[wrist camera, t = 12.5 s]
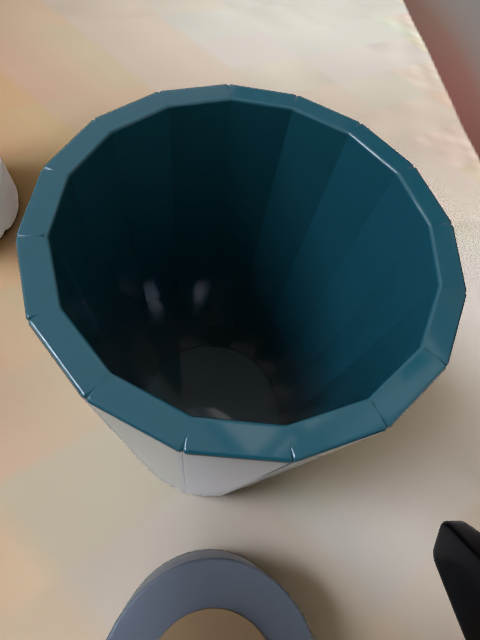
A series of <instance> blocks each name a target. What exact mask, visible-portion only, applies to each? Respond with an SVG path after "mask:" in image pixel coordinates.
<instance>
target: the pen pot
mask: <svg viewBox="0 0 480 640" xmlns="http://www.w3.org/2000/svg"><path fill="white" fill-rule="evenodd" d="M16 247H17V255H18V262H19V270H20V277H21V284H22V292H23V299H24V307H25V314H26V319H27V320H28V321H29V325H30V327H31V328H32V330H33V331H34V332H35V334H36V335H37V336H38V338H39V339H40V341H41V342H42V343H43V345H44V346H45V348H46V349H47V350H48V352H49V353H50V354H51V356H52V357H53V359H54V360H55V361H56V363H57V364H58V365H59V367H60V368H61V370H62V371H63V372H64V374H65V375H66V377H67V378H68V379H69V381H70V382H71V383H72V385H73V386H74V388H75V389H76V390H77V392H78V393H79V394H80V396H81V397H82V398H83V399H84V400H85V402H86V403H87V404H88V405H89V406H90V407H91V408H92V409H93V410H94V411H95V412H96V413H97V415H98V416H99V417H100V418H101V419H102V420H103V421H104V422H105V423H106V424H107V425H108V426H109V427H110V429H111V430H112V431H113V432H114V433H115V434H116V435H117V436H118V437H119V438H120V439H121V440H122V441H123V443H124V444H125V445H126V446H127V447H128V448H129V449H130V450H131V451H132V452H133V453H134V454H135V455H136V457H137V458H138V459H139V460H140V461H141V462H142V463H143V464H144V465H145V466H146V467H147V468H148V469H149V471H150V472H151V473H152V474H153V475H154V476H155V477H156V478H158V479H160V480H161V481H163V482H165V483H166V484H168V485H169V486H171V487H173V488H175V489H177V490H179V491H181V492H183V493H186V494H193V495H200V496H222V495H225V494H228V493H231V492H234V491H236V490H239V489H242V488H245V487H247V486H250V485H253V484H255V483H258V482H260V481H263V480H265V479H268V478H270V477H272V476H275V475H277V474H280V473H282V472H285V471H287V470H290V469H292V468H295V467H297V466H300V465H302V464H305V463H307V462H310V461H312V460H315V459H317V458H319V457H322V456H324V455H327V454H329V453H332V452H334V451H337V450H339V449H342V448H344V447H347V446H349V445H352V444H354V443H357V442H359V441H362V440H364V439H367V438H369V437H371V436H374V435H376V434H379V433H381V432H384V431H385V430H386V429H387V428H390V427H392V425H393V424H394V423H395V422H396V421H397V420H398V419H399V418H400V417H401V416H402V415H403V414H404V413H405V412H406V411H407V410H408V408H409V407H410V406H411V405H412V404H413V403H414V402H415V401H416V400H417V399H418V398H419V397H420V396H421V395H422V394H423V392H424V391H425V390H426V389H427V388H428V387H429V386H430V385H431V384H432V383H433V382H434V381H435V380H436V379H437V378H438V377H439V375H440V374H441V373H442V372H443V371H444V370H445V368H446V366H447V365H448V363H449V359H450V355H451V352H452V348H453V344H454V340H455V336H456V333H457V329H458V325H459V321H460V317H461V313H462V310H463V306H464V302H465V298H466V294H465V293H466V287H465V282H464V277H463V272H462V267H461V262H460V257H459V253H458V248H457V243H456V238H455V233H454V228H453V226H452V225H451V221H450V219H449V218H448V216H447V215H446V213H445V212H444V210H443V209H442V207H441V206H440V204H439V203H438V201H437V199H436V198H435V196H434V195H433V193H432V192H431V190H430V189H429V187H428V186H427V184H426V183H425V181H424V180H423V178H422V177H421V175H420V174H419V172H418V170H417V169H416V168H415V167H413V165H412V164H411V163H410V162H409V161H408V160H406V159H405V158H404V157H403V156H401V155H400V154H399V153H398V152H396V151H395V150H394V149H393V148H392V147H390V146H389V145H388V144H387V143H385V142H384V141H383V140H382V139H380V138H379V137H378V136H377V135H375V134H374V133H373V132H372V131H371V130H369V129H368V128H367V127H366V126H364V125H363V124H360V123H359V122H358V121H356V120H354V119H351V118H349V117H347V116H344V115H342V114H340V113H338V112H335V111H333V110H331V109H328V108H326V107H324V106H321V105H319V104H317V103H315V102H312V101H310V100H308V99H305V98H303V97H301V96H296V95H294V94H288V93H282V92H276V91H270V90H263V89H257V88H251V87H244V86H238V85H232V84H230V85H229V86H228V85H227V84H223V85H213V86H204V87H194V88H185V89H175V90H166V91H160V93H159V92H155V93H153V94H151V95H148V96H146V97H144V98H141V99H139V100H137V101H134V102H132V103H129V104H127V105H125V106H122V107H120V108H118V109H115V110H113V111H111V112H108V113H106V114H103V115H101V116H99V117H96V118H95V120H92V121H91V122H90V123H89V124H88V125H87V126H86V127H85V128H84V129H82V130H81V131H80V132H79V133H78V134H77V135H76V136H75V137H74V138H73V139H72V140H71V141H70V142H69V143H68V144H67V145H66V146H65V147H64V148H63V149H61V150H60V151H59V152H58V153H57V154H56V155H55V156H54V157H53V158H52V159H51V160H50V161H49V162H48V163H47V164H46V165H45V166H44V169H42V170H41V172H40V175H39V177H38V180H37V183H36V185H35V188H34V190H33V193H32V196H31V198H30V201H29V203H28V206H27V209H26V211H25V214H24V216H23V219H22V222H21V224H20V227H19V229H18V232H17V238H16Z"/></svg>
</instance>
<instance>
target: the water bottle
mask: <svg viewBox="0 0 480 640" xmlns="http://www.w3.org/2000/svg"><path fill="white" fill-rule="evenodd" d="M18 207H19V203H18V192H17V189H16V186H15V184H14V182H13V180H12V178H11V176H10V174H9V172H8V170H7V168H6V166H5V165H4V163H3V161H2V159H1V158H0V238H1V237H2V236H3V234H4V231H5V230H6V229H9V228H10V227H11V225H12V224H13V222H14V220H15V218H16V215H17V212H18Z"/></svg>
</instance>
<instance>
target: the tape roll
mask: <svg viewBox="0 0 480 640" xmlns="http://www.w3.org/2000/svg"><path fill="white" fill-rule="evenodd" d="M106 640H314V639H313V636H312V633H311V631H310V629H309V627H308V624H307V622H306V620H305V618H304V616H303V615H302V613H301V611H300V610H299V608H298V606H297V605H296V603H295V602H294V601H293V599H292V598H291V597H290V595H289V594H288V593H287V592H286V591H285V590H284V589H283V588H282V587H281V586H280V585H279V584H278V583H277V582H276V581H275V580H274V579H272V578H271V577H270V576H269V575H267V574H266V573H265V572H263V571H262V570H261V569H260V568H258V567H257V566H256V565H255V564H253V563H252V562H250V561H249V560H247V559H245V558H243V557H241V556H239V555H236V554H234V553H231V552H227V551H222V550H212V549H208V550H197V551H193V552H188V553H185V554H182V555H180V556H177V557H175V558H173V559H171V560H170V561H168V562H166V563H164V564H163V565H162V566H160V567H159V568H157V569H156V570H155V571H154V572H153V573H152V574H151V575H149V576H148V577H147V578H146V579H145V580H144V582H143V583H142V584H141V585H140V586H139V587H138V589H137V590H136V591H135V593H134V594H133V596H132V597H131V599H130V600H129V602H128V603H127V605H126V606H125V608H124V610H123V611H122V613H121V614H120V616H119V617H118V619H117V620H116V622H115V624H114V626H113V628H112V629H111V631H110V633H109V635H108V637H107V639H106Z"/></svg>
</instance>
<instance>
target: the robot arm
mask: <svg viewBox="0 0 480 640" xmlns="http://www.w3.org/2000/svg"><path fill="white" fill-rule="evenodd" d="M433 557H434V561H435V564H436V567H437V569H438V572H439V574H440V577H441V580H442V582H443V585H444V587H445V590H446V592H447V595H448V597H449V600H450V602H451V605H452V607H453V610H454V612H455V615H456V617H457V620H458V622H459V625H460V627H461V630H462V632H463V635H464V637H465V639H466V640H480V532H479V531H477V530H476V529H474V528H473V527H471V526H470V525H468V524H467V523H465V522H463V521H444V522H443V523H442V524H441V526H440V529H439V532H438V536H437V539H436V542H435V546H434V549H433Z"/></svg>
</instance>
